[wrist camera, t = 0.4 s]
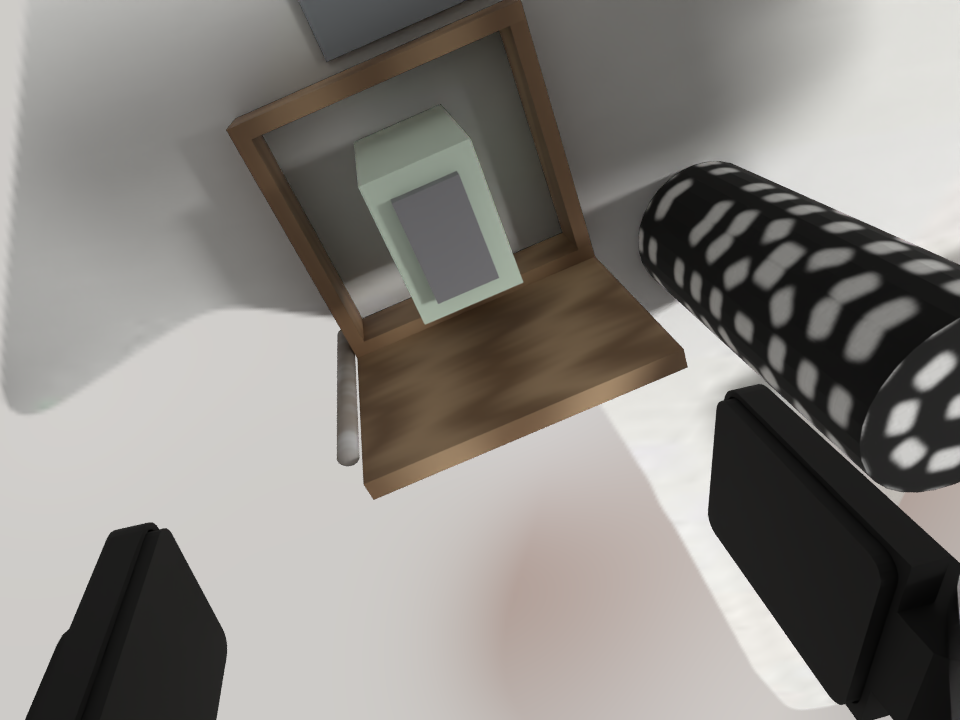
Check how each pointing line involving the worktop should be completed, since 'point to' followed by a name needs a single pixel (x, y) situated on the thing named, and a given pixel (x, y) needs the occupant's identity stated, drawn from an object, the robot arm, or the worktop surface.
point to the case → (481, 326)
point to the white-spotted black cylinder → (820, 314)
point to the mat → (363, 20)
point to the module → (435, 213)
